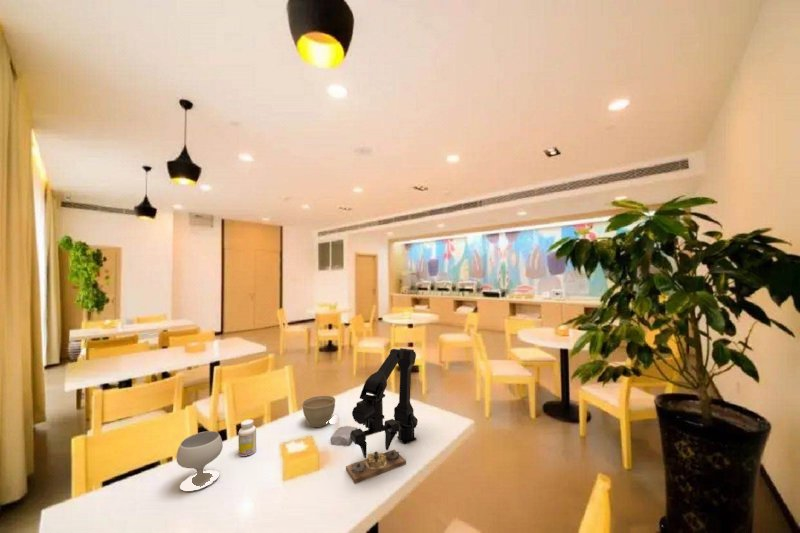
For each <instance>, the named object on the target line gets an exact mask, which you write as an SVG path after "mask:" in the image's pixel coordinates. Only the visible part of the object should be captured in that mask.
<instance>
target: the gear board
mask: <svg viewBox="0 0 800 533" xmlns="http://www.w3.org/2000/svg"><path fill="white" fill-rule="evenodd" d="M373 453H374V455H375V459H378V453H379V452H378V451H374V452H373ZM382 453H383V455H384V456H386V462H384V466H381V467H378V469H376V468H374V467H371V468H369V464H367V459H366V458H364V459H363V460H359V461H356V462H355V463H351V464H348V465H346V466H345V471H346V473H347V474H348V476H349V477H350V479H351V480H352V482H353V483H354V484H355V485H356V484H358V483H361V482H364V481H366V480H369V479H371V478H374V477H376V476H379V475H382V474H384V473H387V472H390V471H392V470H394V469H397V468H400V467H402V466H404V465H405V466H406V465H407V460H406V459H405V458H404V457H403V456H402V455H401V454H400V452H399V451H397V450H396V449H392V450H387V451H385V452H382Z"/></svg>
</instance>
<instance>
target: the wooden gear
mask: <svg viewBox="0 0 800 533" xmlns="http://www.w3.org/2000/svg"><path fill="white" fill-rule="evenodd" d="M383 453H384V452H378V459H375V455H374V452H373V453H369V454H368V455H367V456H368V457H366V458H365V459H367V464H369V468H371V467H374V468H376V469H378V467H381V466H384V462H386V456H384V455H383Z"/></svg>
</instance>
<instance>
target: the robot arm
mask: <svg viewBox="0 0 800 533" xmlns="http://www.w3.org/2000/svg"><path fill="white" fill-rule="evenodd" d="M416 357H417V353H416V352H415V351H414V349H410V348H403V347H402V348H398V349H397V348H393V349H390V351H389V354H388V355H387V357H386V358H385V360H384V361H383V363H382V364H381V366H380V367H379V368H378V369H377V371H375V372H374V373H372V374H370V376H369V377H368V378H366V380H365V382H364V384H363V387H362V390H361V393H360V396H359V399H360V401H357V402H356V406H354V407H353V409H352V412H351V415H352V418H353V420H354V421H355V423H358V425H362V426H364V427H365V429H366V430H363V429H361V427H359V428H357V429H356V430H352V431H351V433H350V438H351V440H352V442H353V444H355V445H358V446H359V447H360V449H361V452H362V456H363V458H364V459H366V458H367V456H368V455H367V449H368V448H367V445H368V444H367V441H366V440H367V437H369V436H372V435H375V434H379V433H381V432H384V435H385V436H384V438H385V440H384V441H385V445H384V446H385V451H389V449H390V446H391V444H392V442H393V440H394V438H395V436H396V435H398V436H397V437H396V438H397V439H398V440H399V441H400V442H401V443H403V445H406V444H408V443H412V442H414V441H415V442H416V441H417V438H416V436H415V428H417V425H418V421H419V420H418V418H417V417H416V416H415V414H414V411H415V410H414V408H413V406H412V403H411V389H412V388H411V385H412V384H411V382H412V381H411V380H412V368H413V366H414V365H415V364H416ZM397 365H398V366H399V392H398V393H399V396H398V397H399V398H398V403H397V405H396V406H395V407H394V409H393V418H390V419H388V420H385V421H384V419H385V415H384V412H383V410H384V409H383V408H384V406H383V405H384V404H383V403H384V402H383V399H384V398H385V397H386V394H385V390H386V388H387V386H388V379H389V377H390V376H391V375H392V372H393V371H394V369H395V368H396V366H397Z"/></svg>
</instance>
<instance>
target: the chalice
mask: <svg viewBox="0 0 800 533" xmlns="http://www.w3.org/2000/svg"><path fill="white" fill-rule="evenodd" d="M222 450H223V440H222V436H221V435H220V433H219V432H218V431H214V430H209V431H208V430H207V431H201V432H197V433H195V434H192V435H189V436H187V437H185V438H184V439H183V440H182V441H181V442H180V444H179V446H178V449H177V452H176V463H177V464H178V466H180V467H181V468H183V469H195V471H196V473H197V475H196V476H195V477H193V478H192V483H193V484H194V485H196V486H200V487H201V486H203V485H205V483H206V482H208V481H210V478H211V477H213V476H212V474H210V473H203V470H205V467H206V466H207V465H209V464H210V463H212V462H214V461H215V460H216V459H217V458H218V457H219V455H220V454H221V453H222Z"/></svg>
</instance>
